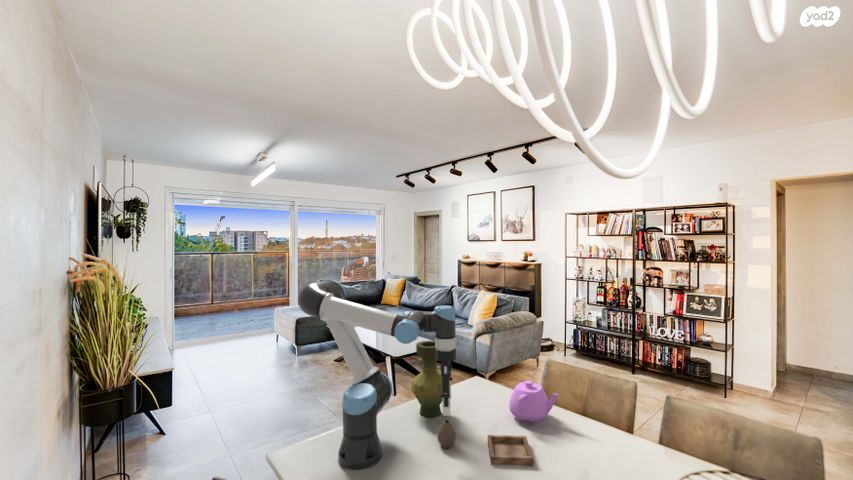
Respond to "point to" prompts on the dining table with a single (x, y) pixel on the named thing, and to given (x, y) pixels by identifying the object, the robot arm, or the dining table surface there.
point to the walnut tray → (509, 450)
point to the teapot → (530, 402)
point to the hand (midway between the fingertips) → (447, 406)
